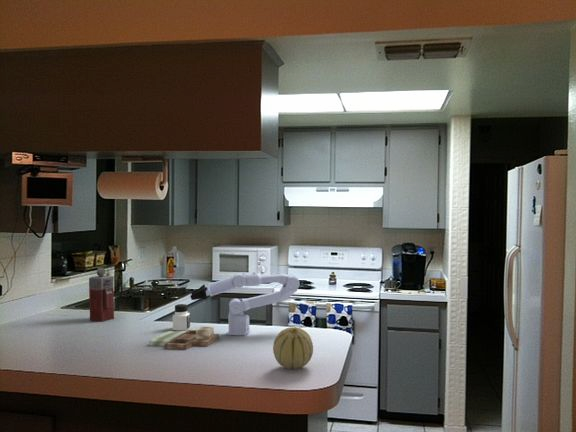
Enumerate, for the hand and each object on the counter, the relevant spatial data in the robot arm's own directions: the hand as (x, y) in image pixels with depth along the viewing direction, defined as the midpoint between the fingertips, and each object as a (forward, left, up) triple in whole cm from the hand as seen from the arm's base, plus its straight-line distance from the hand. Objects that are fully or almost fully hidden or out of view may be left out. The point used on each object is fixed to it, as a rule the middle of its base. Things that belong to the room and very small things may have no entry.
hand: (191, 296), depth 240 cm
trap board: (-2, +10, -18) cm, 21 cm away
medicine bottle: (+11, -13, -18) cm, 25 cm away
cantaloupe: (-56, +42, -18) cm, 73 cm away
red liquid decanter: (+63, -29, -18) cm, 71 cm away
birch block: (-10, +10, -16) cm, 22 cm away
